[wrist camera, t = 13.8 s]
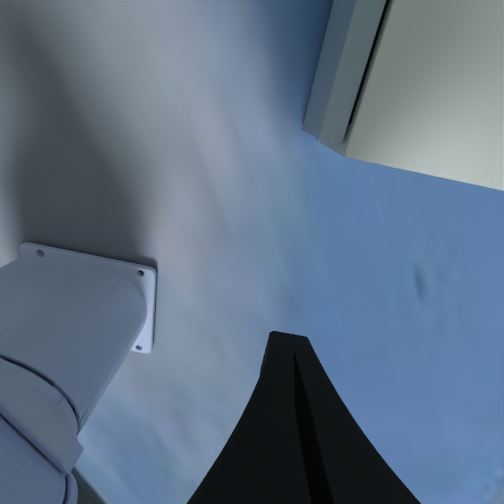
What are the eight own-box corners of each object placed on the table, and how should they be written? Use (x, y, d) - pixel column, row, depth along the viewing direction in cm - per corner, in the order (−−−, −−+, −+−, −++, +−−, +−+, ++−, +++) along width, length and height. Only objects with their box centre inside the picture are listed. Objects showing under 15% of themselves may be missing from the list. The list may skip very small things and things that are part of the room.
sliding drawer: (301, 129, 16) (318, 137, 10) (377, -180, 11) (504, -539, 5) (486, 169, 16) (614, 201, 10) (641, -118, 11) (1069, -390, 5)
